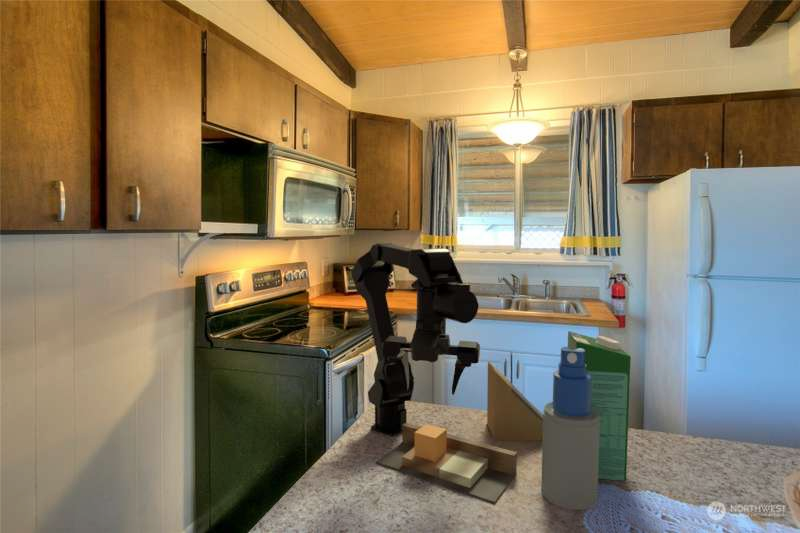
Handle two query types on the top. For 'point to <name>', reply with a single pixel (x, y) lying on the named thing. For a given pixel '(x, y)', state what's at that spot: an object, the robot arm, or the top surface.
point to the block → (430, 442)
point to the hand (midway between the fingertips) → (429, 391)
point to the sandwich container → (510, 410)
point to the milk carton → (608, 399)
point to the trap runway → (457, 465)
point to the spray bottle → (571, 436)
